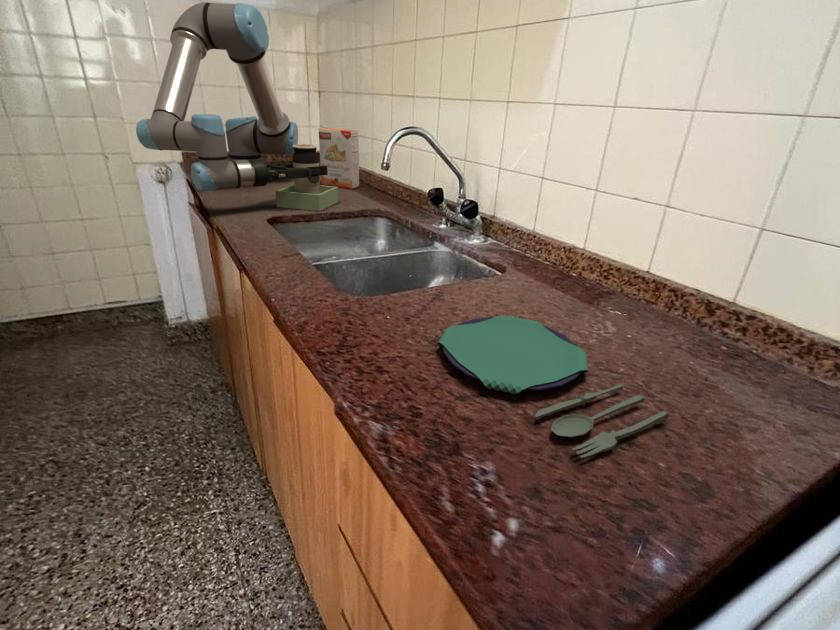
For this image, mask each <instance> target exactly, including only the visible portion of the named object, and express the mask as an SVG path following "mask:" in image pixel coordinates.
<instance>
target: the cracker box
mask: <svg viewBox="0 0 840 630" xmlns="http://www.w3.org/2000/svg"><path fill="white" fill-rule="evenodd" d="M318 146H319V166H327V172H328V175H321V176H320V185H323V186H333V187H338V188H341V189H347V190H353V189H354V190H355V189H357V188H359V187H360V162H359V161H360V153H359V151H360V149H359V130H357V129H346V128H340V127H339V128H338V127H336V128H335V127H320V128H318Z"/></svg>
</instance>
